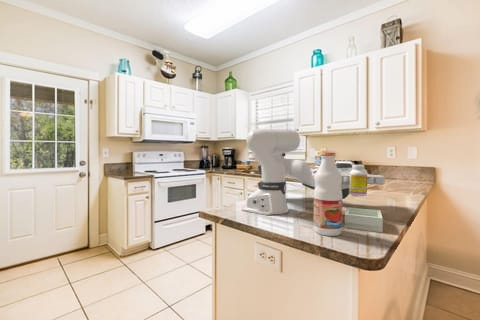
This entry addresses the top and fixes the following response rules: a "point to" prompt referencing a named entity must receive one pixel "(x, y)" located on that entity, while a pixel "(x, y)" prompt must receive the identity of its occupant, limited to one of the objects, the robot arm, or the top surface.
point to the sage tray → (363, 219)
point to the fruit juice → (328, 197)
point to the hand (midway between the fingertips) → (358, 180)
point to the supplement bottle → (358, 181)
